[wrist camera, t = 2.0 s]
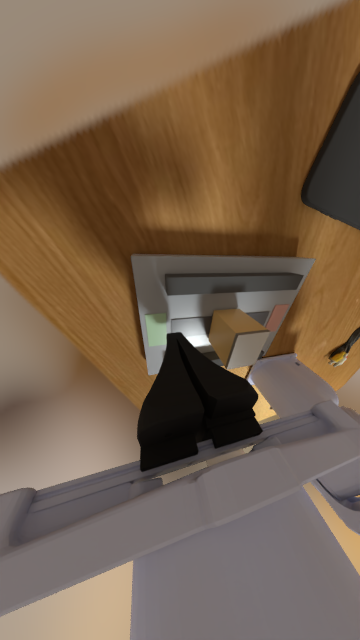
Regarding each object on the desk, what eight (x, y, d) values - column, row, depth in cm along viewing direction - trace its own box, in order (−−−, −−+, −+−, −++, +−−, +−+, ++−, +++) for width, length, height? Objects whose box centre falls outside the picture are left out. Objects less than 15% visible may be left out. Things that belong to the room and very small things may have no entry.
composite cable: (357, 325, 26) (375, 332, 24) (367, 328, 28) (385, 335, 26) (319, 359, 31) (332, 367, 29) (330, 360, 32) (343, 368, 30)
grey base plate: (296, 256, 15) (316, 258, 13) (255, 347, 22) (265, 356, 20) (133, 253, 11) (130, 256, 9) (148, 363, 18) (148, 375, 17)
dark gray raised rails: (290, 272, 13) (304, 275, 12) (253, 352, 19) (260, 359, 18) (165, 273, 11) (167, 277, 9) (167, 365, 17) (168, 375, 15)
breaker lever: (239, 308, 14) (270, 331, 10) (230, 337, 16) (254, 364, 12) (213, 310, 13) (238, 335, 10) (208, 339, 15) (226, 369, 12)
